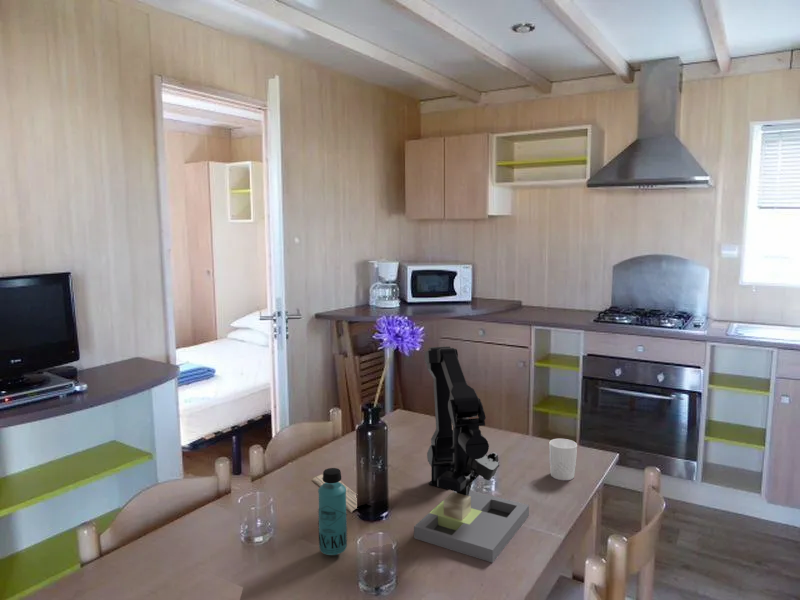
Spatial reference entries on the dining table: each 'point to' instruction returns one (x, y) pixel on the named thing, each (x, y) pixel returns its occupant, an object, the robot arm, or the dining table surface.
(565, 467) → the white cup
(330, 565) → the dining table surface
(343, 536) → the beverage bottle
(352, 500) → the newspaper
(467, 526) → the trap deck
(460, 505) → the maple block
